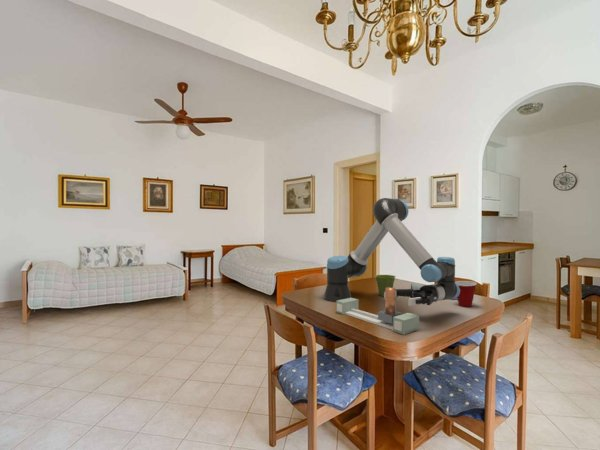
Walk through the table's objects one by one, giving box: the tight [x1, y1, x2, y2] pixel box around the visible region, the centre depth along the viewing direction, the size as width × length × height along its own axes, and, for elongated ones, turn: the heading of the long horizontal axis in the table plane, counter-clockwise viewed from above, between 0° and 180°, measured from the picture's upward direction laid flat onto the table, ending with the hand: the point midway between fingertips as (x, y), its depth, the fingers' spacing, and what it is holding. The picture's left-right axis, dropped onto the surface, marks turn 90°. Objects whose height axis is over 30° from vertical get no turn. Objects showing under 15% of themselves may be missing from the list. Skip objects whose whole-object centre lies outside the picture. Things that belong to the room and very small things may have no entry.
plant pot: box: [374, 274, 396, 297], centre depth 181 cm, size 12×12×11 cm
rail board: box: [335, 297, 420, 336], centre depth 134 cm, size 37×10×6 cm, turn 37°
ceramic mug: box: [410, 282, 426, 296], centre depth 179 cm, size 11×8×8 cm
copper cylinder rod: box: [377, 287, 404, 323], centre depth 127 cm, size 7×7×13 cm
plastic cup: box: [455, 280, 478, 308], centre depth 158 cm, size 11×11×12 cm
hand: (396, 298), depth 128 cm, fingers open, 13 cm apart
